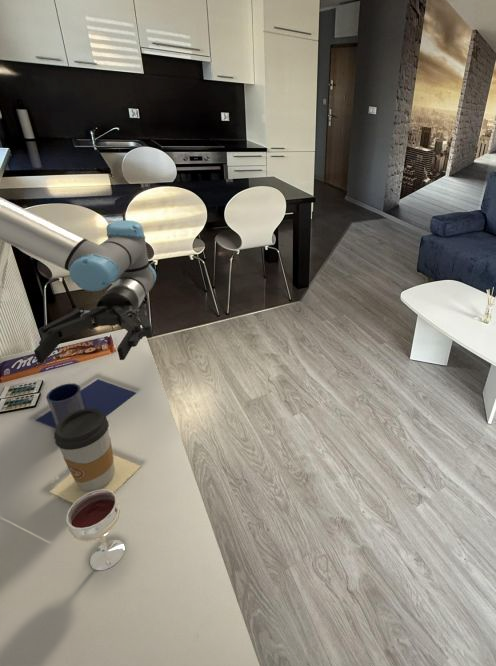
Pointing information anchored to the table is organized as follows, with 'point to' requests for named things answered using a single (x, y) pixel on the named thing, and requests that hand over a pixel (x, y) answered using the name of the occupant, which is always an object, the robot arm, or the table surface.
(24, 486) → the table surface
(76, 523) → the wineglass
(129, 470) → the cream mat
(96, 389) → the navy mat
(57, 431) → the coffee cup
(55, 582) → the table surface
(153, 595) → the table surface
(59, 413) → the navy tumbler
